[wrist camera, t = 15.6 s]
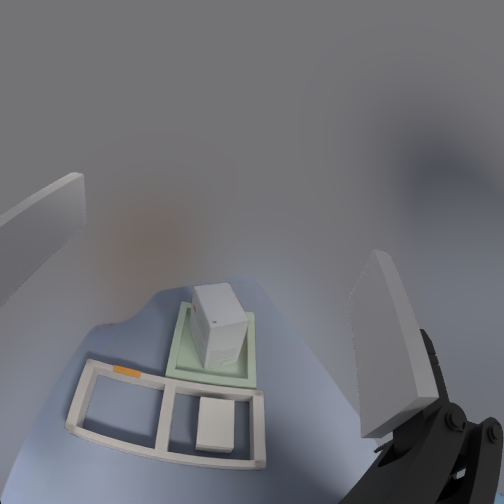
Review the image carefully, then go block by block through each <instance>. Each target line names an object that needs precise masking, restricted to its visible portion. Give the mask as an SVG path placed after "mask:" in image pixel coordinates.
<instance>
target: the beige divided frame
mask: <svg viewBox="0 0 504 504" xmlns="http://www.w3.org/2000/svg"><path fill="white" fill-rule="evenodd" d="M98 374H99V375H102V376H106V377H109V378H113V379H116V380H120V381H124V382H128V383H132V384H136V385H140V386H144V387H149V388H153V389H158V390H163V391H164V395H163V400H162V406H161V412H160V418H159V424H158V431H157V437H156V444H155V449H152V448H147V447H143V446H139V445H135V444H131V443H127V442H123V441H120V440H116V439H113V438H110V437H106V436H103V435H100V434H97V433H94V432H91V431H88V430H86V429H83V428H82V427H83V424H84V420H85V416H86V413H87V409H88V406H89V402H90V399H91V396H92V393H93V389H94V386H95V383H96V380H97V377H98ZM176 393H179V394H185V395H191V396H198V397H207V398H215V399H223V400H233V401H240V402H249V412H250V460H232V459H219V458H208V457H200V456H192V455H185V454H178V453H173V452H168V450H169V442H170V434H171V426H172V419H173V412H174V405H175V398H176ZM64 428H65V429H66V430H67V431H68V432H69V433H70V434H73V435H75V436H78V437H80V438H83V439H86V440H88V441H91V442H94V443H97V444H100V445H103V446H106V447H109V448H113V449H116V450H119V451H123V452H127V453H130V454H134V455H138V456H143V457H147V458H151V459H156V460H161V461H166V462H172V463H178V464H185V465H192V466H200V467H209V468H220V469H235V470H263V469H264V468H266V445H265V420H264V397H263V390H252V389H241V388H231V387H222V386H214V385H207V384H200V383H193V382H187V381H181V380H175V379H170V378H165V377H160V376H155V375H150V374H146V373H141V371H137V370H133V369H129V368H125V367H121V366H117V365H114V366H113V365H110V364H106V363H103V362H99V361H96V360H93V359H89V358H88V359H87V362H86V364H85V367H84V370H83V372H82V375H81V378H80V381H79V383H78V386H77V389H76V392H75V395H74V398H73V401H72V404H71V407H70V411H69V414H68V417H67V421H66V424H65V427H64Z"/></svg>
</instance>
